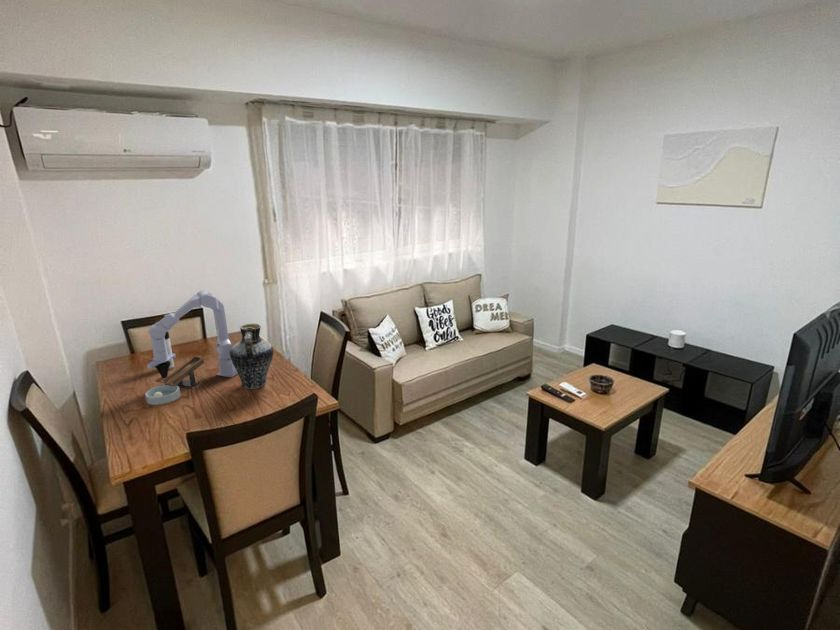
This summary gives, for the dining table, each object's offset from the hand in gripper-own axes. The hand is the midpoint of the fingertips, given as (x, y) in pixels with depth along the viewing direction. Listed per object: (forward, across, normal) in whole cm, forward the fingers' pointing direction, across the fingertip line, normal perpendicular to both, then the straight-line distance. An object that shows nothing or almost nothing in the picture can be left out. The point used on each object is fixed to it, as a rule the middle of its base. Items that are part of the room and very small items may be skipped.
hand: (164, 377), depth 211 cm
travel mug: (+6, -19, -18) cm, 27 cm away
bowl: (+6, +8, +6) cm, 12 cm away
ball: (+3, +11, +6) cm, 13 cm away
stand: (+6, -6, +6) cm, 10 cm away
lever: (+1, -6, +3) cm, 7 cm away
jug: (+6, -15, +38) cm, 41 cm away
